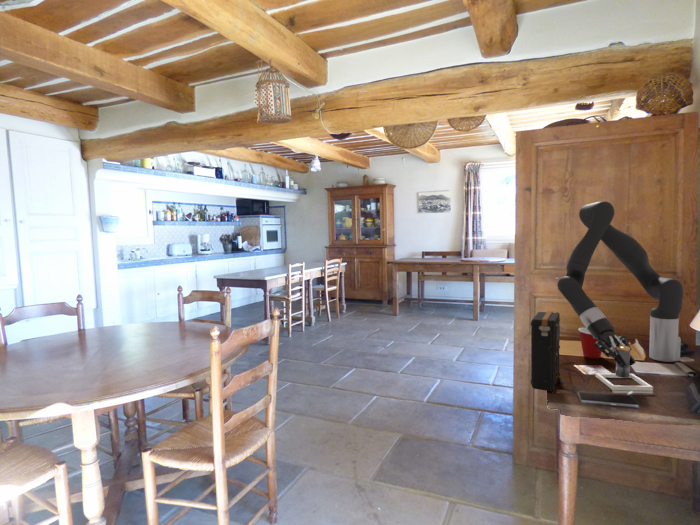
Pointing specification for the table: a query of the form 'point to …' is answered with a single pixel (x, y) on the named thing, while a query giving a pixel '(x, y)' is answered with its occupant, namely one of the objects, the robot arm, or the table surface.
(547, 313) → the black carrying case
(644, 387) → the white square tray
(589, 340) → the plastic cup
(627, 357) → the battery cell
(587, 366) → the plate
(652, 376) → the table surface
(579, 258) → the robot arm
